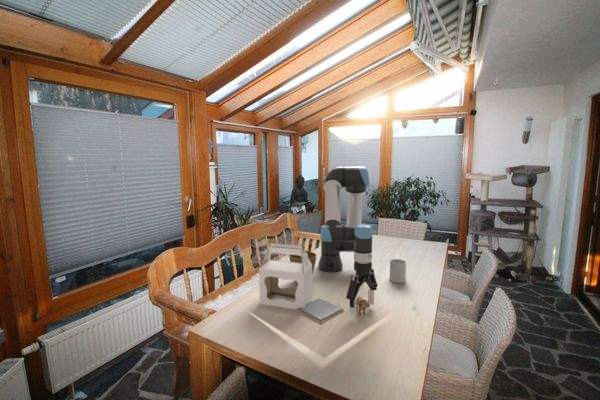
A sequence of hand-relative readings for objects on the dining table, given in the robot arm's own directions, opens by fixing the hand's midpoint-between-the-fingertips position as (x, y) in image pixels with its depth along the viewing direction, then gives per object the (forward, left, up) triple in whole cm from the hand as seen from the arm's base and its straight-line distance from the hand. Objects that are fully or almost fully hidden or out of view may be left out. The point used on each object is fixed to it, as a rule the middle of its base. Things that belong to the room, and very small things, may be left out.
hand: (362, 308), depth 125 cm
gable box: (-32, -16, -3) cm, 36 cm away
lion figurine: (-1, +1, -2) cm, 3 cm away
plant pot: (-42, +5, -2) cm, 42 cm away
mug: (-7, +47, -2) cm, 48 cm away
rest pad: (-14, -12, -2) cm, 18 cm away
